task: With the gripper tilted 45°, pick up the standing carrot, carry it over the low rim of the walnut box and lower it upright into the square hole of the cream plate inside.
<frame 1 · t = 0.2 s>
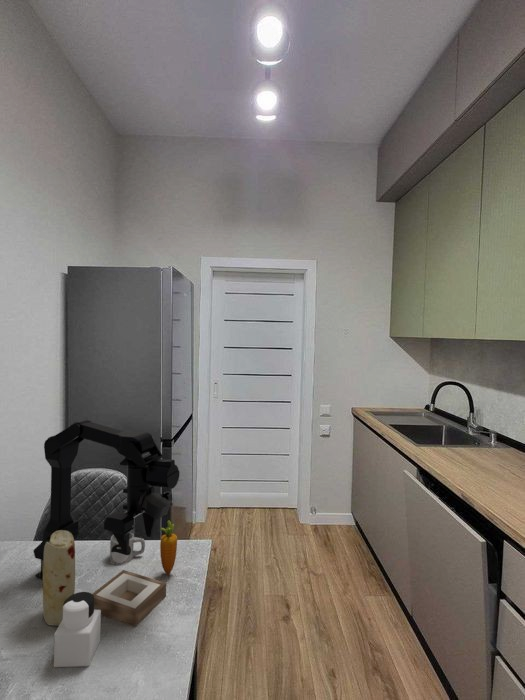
hand: (137, 544, 100), 14 cm above the table, tool pointing down, fingers open, 9 cm apart
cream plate: (128, 595, 99), in the walnut box
mug: (127, 558, 119), on the table
food model: (58, 618, 94), on the table
walnut box: (128, 602, 99), on the table
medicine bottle: (77, 654, 83), on the table
carrot: (167, 575, 112), on the table
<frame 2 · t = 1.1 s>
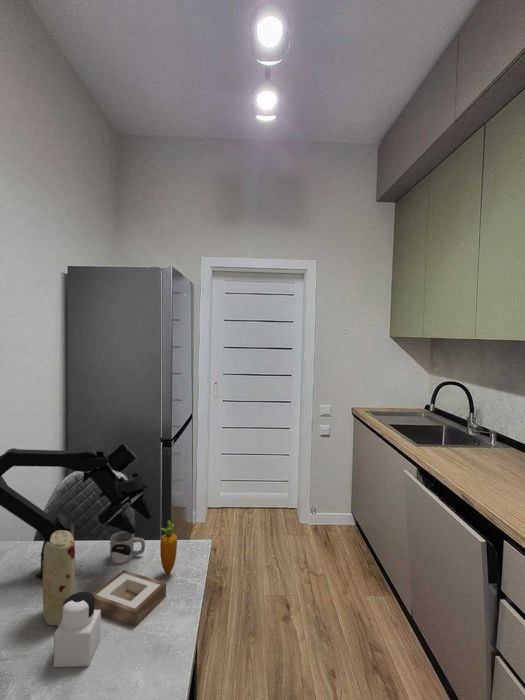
hand: (142, 525, 113), 13 cm above the table, tool tilted 45°, fingers open, 9 cm apart
nothing on the table moved.
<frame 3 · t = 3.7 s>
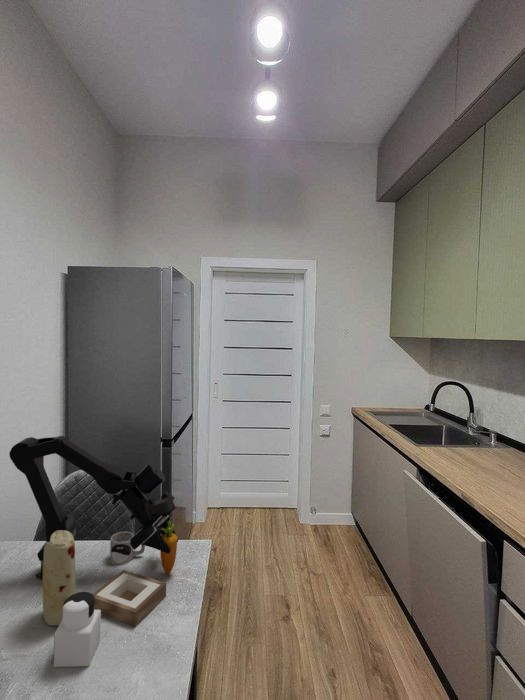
hand: (173, 547, 111), 8 cm above the table, tool tilted 45°, fingers closed on carrot, 5 cm apart
carrot: (167, 575, 112), on the table, touching gripper
everything else where it was.
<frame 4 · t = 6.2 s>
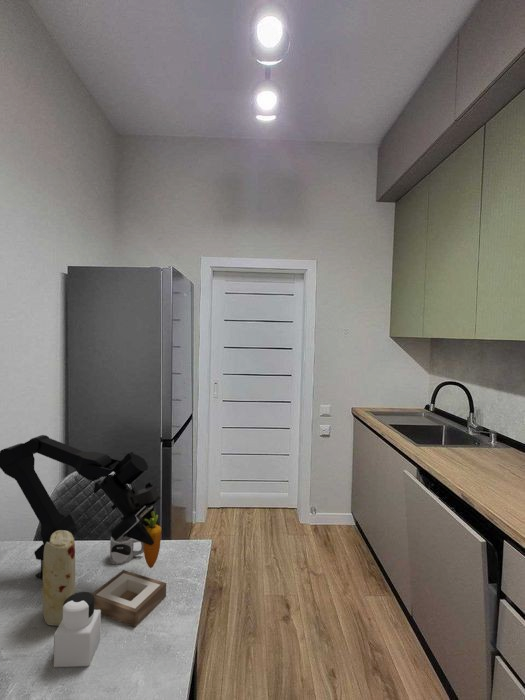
hand: (156, 539, 106), 13 cm above the table, tool tilted 45°, fingers closed on carrot, 5 cm apart
carrot: (150, 568, 106), point 5 cm above the table, touching gripper
everything else where it was.
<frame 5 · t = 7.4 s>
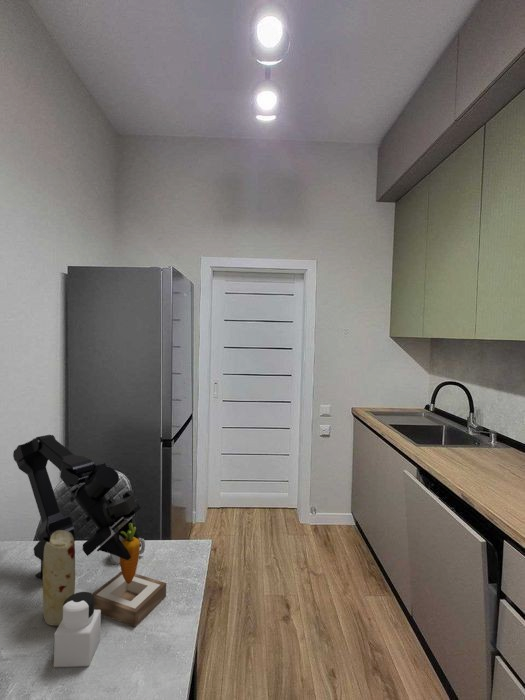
hand: (134, 553, 99), 13 cm above the table, tool tilted 45°, fingers closed on carrot, 5 cm apart
carrot: (128, 584, 99), point 5 cm above the table, touching gripper
everything else where it was.
when the fingers open (9 cm above the table, at t = 8.6 s): carrot stays where it is, resting on walnut box.
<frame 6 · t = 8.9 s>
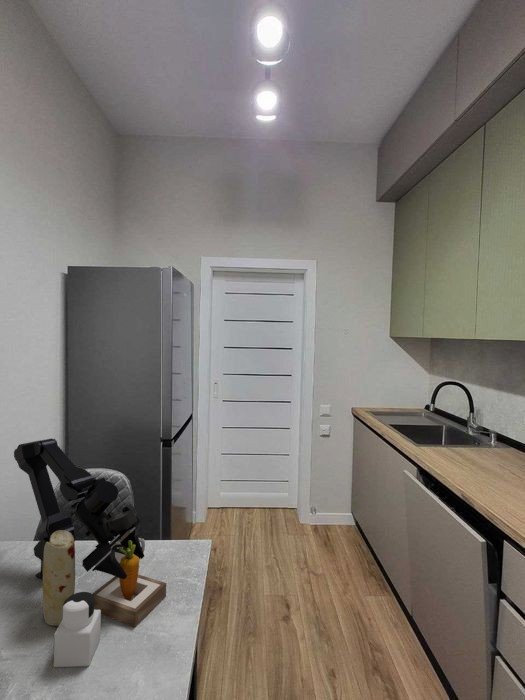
hand: (134, 567, 99), 9 cm above the table, tool tilted 45°, fingers open, 9 cm apart
carrot: (128, 601, 100), resting on walnut box
everything else where it was.
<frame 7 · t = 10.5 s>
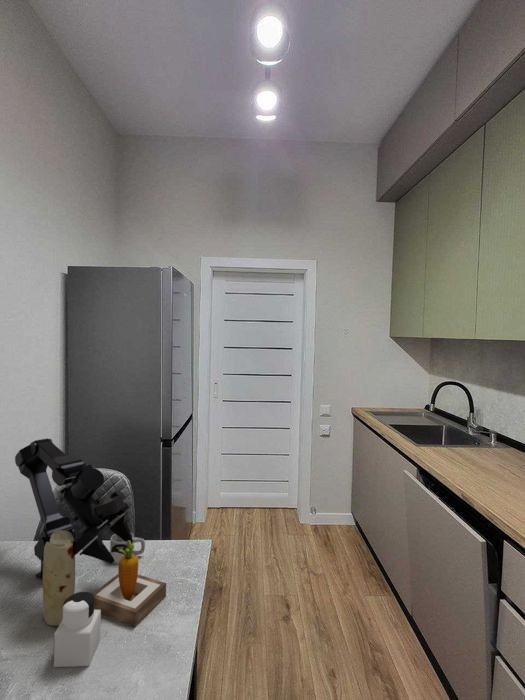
hand: (122, 552, 100), 13 cm above the table, tool tilted 45°, fingers open, 9 cm apart
nothing on the table moved.
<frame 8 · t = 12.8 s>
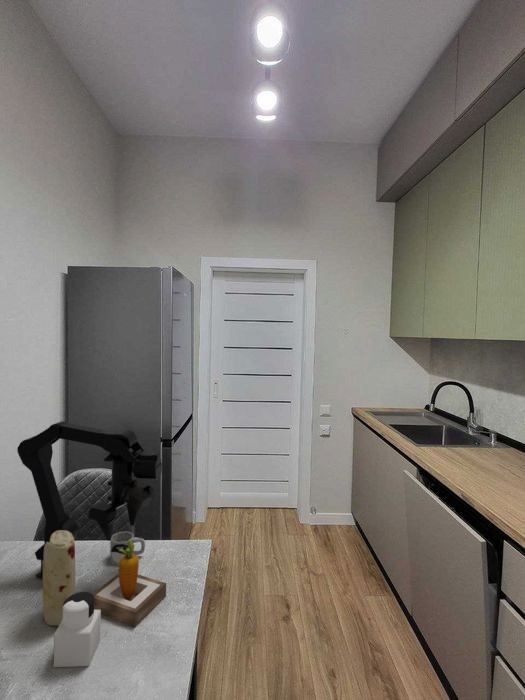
hand: (121, 532, 109), 13 cm above the table, tool pointing down, fingers open, 9 cm apart
nothing on the table moved.
at the end: carrot 0.2 cm off-centre on the walnut box, point 0.2 cm above the walnut box's base; carrot tilted 1°; the gripper is holding nothing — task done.
